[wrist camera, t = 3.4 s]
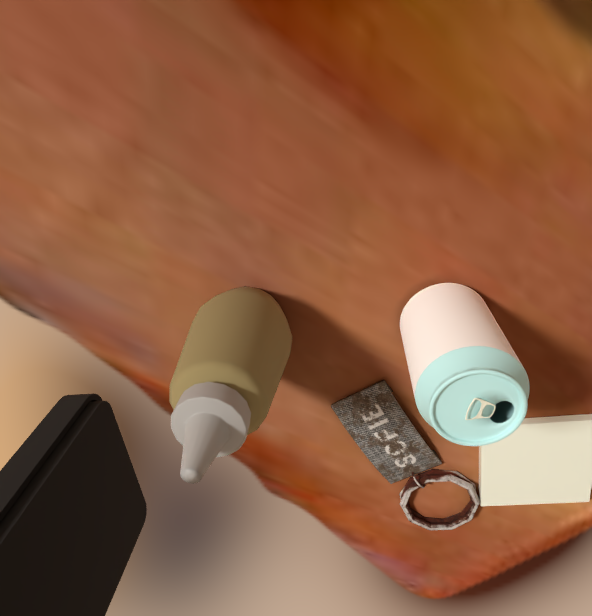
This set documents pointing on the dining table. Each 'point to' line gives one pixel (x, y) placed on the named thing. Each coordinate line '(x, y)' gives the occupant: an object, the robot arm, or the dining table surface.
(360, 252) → the dining table surface
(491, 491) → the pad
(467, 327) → the can
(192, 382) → the squeeze bottle
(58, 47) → the dining table surface
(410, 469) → the keychain
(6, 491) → the robot arm
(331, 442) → the dining table surface
